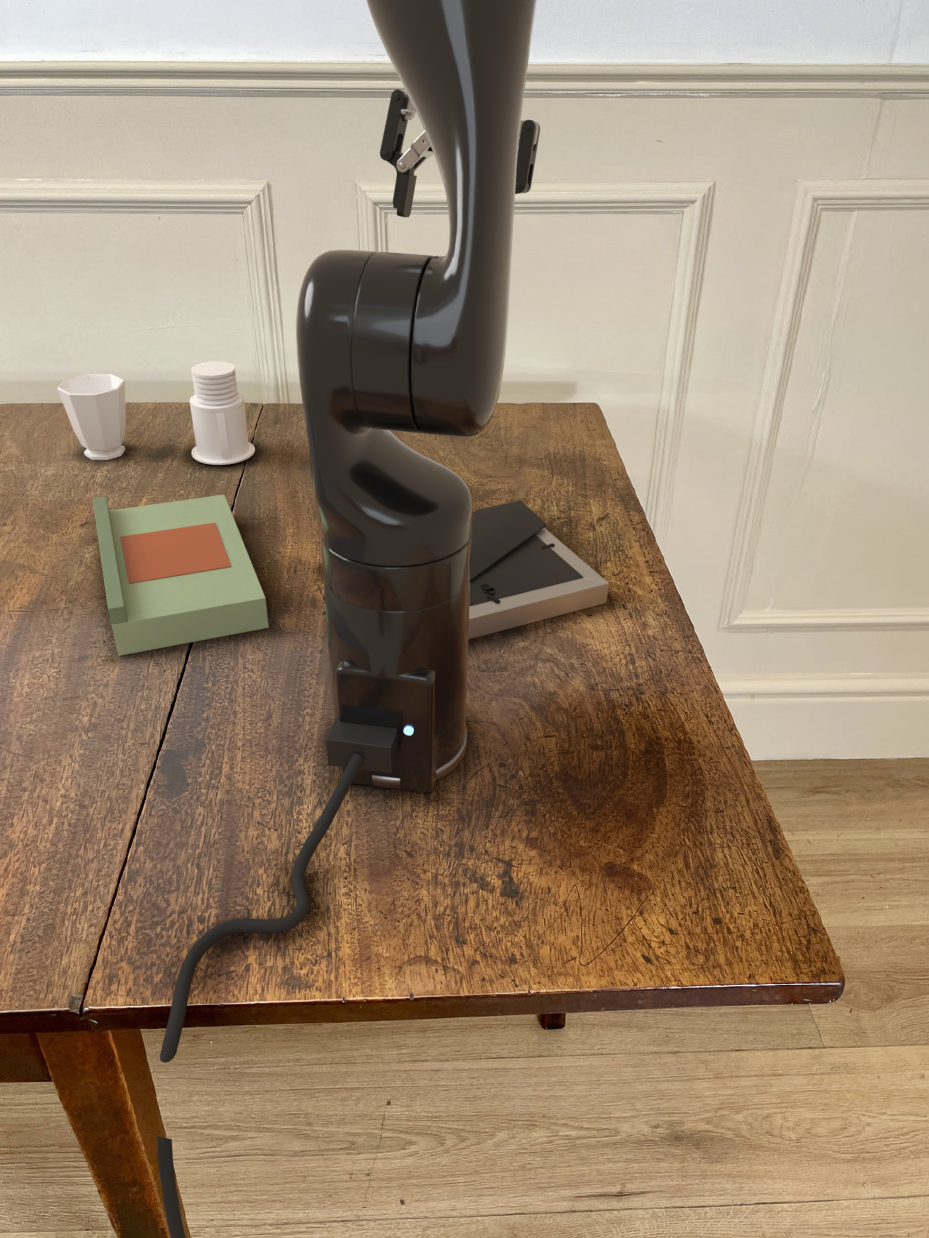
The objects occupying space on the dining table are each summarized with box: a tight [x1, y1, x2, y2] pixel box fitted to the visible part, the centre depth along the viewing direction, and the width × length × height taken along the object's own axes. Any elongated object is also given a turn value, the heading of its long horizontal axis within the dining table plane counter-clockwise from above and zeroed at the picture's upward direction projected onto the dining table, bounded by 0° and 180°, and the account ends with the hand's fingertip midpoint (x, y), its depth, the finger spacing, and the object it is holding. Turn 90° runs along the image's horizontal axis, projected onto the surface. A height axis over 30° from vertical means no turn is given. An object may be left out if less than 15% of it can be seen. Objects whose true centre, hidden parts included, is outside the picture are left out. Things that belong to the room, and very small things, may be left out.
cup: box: [56, 373, 127, 461], centre depth 106 cm, size 7×10×8 cm
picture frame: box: [321, 500, 610, 641], centre depth 84 cm, size 16×3×21 cm
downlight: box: [189, 360, 256, 466], centre depth 104 cm, size 8×7×10 cm
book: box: [92, 494, 270, 657], centre depth 83 cm, size 12×20×4 cm, turn 21°
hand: (444, 227), depth 90 cm, fingers open, 8 cm apart
